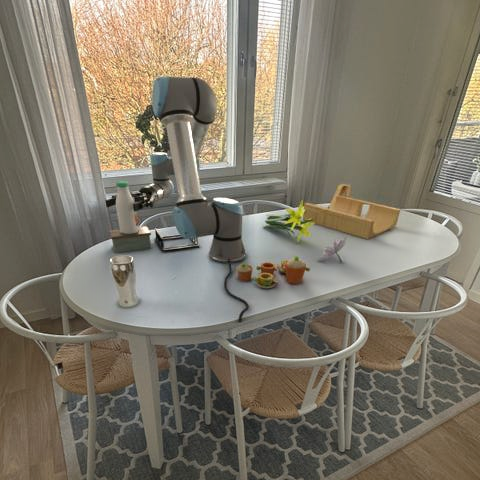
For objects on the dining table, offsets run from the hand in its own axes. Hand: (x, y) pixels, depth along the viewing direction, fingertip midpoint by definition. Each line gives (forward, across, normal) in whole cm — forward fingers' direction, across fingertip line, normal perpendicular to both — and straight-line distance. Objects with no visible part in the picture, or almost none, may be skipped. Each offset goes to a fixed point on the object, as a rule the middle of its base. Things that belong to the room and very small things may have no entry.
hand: (120, 205), depth 137 cm
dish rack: (-16, -15, -19) cm, 29 cm away
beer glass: (+36, -28, -19) cm, 49 cm away
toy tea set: (+1, -65, -19) cm, 68 cm away
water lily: (-27, -83, -19) cm, 89 cm away
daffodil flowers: (-47, -56, -19) cm, 76 cm away
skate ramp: (-83, -85, -19) cm, 120 cm away
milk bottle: (-3, 0, -12) cm, 12 cm away
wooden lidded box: (-3, 0, -19) cm, 19 cm away
